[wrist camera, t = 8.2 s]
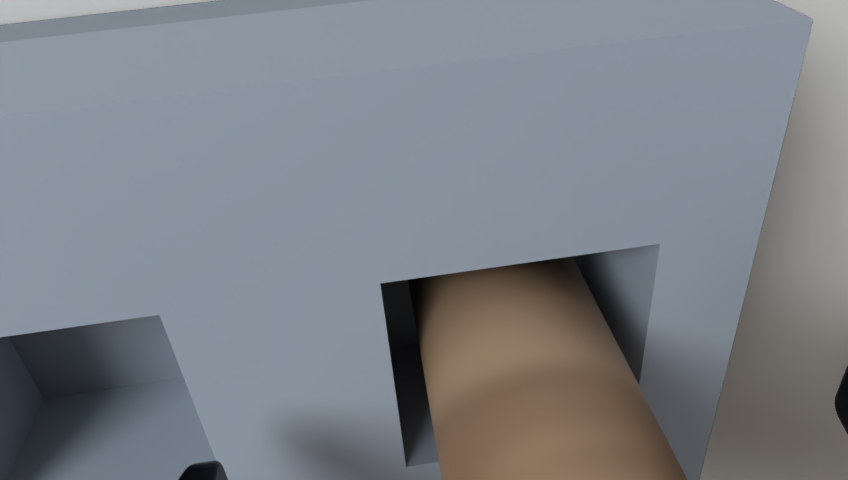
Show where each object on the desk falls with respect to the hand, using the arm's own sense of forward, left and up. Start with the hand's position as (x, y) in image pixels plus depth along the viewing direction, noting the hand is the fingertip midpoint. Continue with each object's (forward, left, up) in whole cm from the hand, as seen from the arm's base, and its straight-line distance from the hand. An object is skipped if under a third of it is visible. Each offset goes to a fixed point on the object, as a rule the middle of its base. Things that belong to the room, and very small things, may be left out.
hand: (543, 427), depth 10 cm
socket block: (0, +4, -5) cm, 6 cm away
